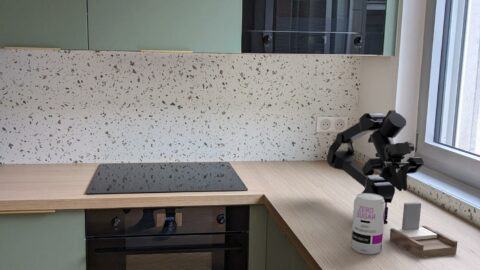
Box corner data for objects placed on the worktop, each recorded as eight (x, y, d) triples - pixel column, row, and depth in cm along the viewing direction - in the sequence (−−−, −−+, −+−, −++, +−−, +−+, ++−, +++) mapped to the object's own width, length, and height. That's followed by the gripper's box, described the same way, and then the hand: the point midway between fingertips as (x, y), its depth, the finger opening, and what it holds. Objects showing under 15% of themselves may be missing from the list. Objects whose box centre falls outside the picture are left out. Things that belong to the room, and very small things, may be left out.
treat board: (389, 240, 153) (390, 228, 153) (424, 236, 157) (425, 225, 157) (419, 257, 141) (420, 245, 140) (456, 253, 145) (457, 241, 144)
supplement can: (376, 244, 149) (380, 192, 147) (385, 255, 141) (389, 201, 139) (347, 243, 149) (351, 192, 147) (355, 255, 141) (359, 200, 139)
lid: (395, 232, 153) (397, 203, 152) (422, 230, 156) (424, 201, 155) (409, 240, 147) (411, 210, 146) (437, 237, 150) (440, 208, 149)
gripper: (370, 131, 156) (389, 177, 147) (423, 131, 162) (444, 174, 153) (354, 153, 164) (371, 197, 156) (405, 151, 171) (424, 193, 162)
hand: (403, 190), depth 157 cm, fingers closed
